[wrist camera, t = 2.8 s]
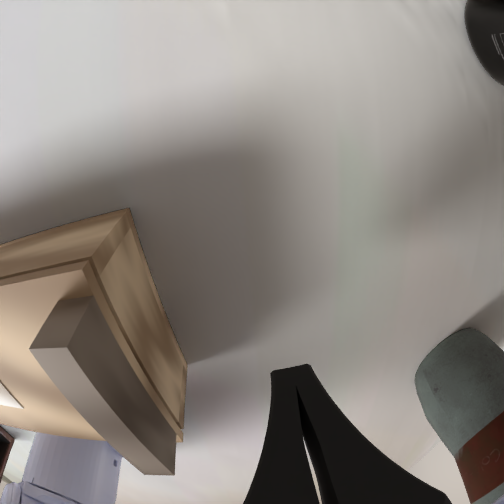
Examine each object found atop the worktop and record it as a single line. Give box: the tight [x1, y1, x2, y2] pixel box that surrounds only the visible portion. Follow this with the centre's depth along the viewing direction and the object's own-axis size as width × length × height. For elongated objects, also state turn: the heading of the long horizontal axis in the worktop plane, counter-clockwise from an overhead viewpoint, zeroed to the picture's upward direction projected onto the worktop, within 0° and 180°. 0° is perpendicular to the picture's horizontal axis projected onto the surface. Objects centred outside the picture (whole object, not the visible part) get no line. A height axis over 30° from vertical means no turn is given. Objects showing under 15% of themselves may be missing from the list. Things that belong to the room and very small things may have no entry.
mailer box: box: [0, 208, 187, 429], centre depth 14 cm, size 11×18×5 cm, turn 99°
